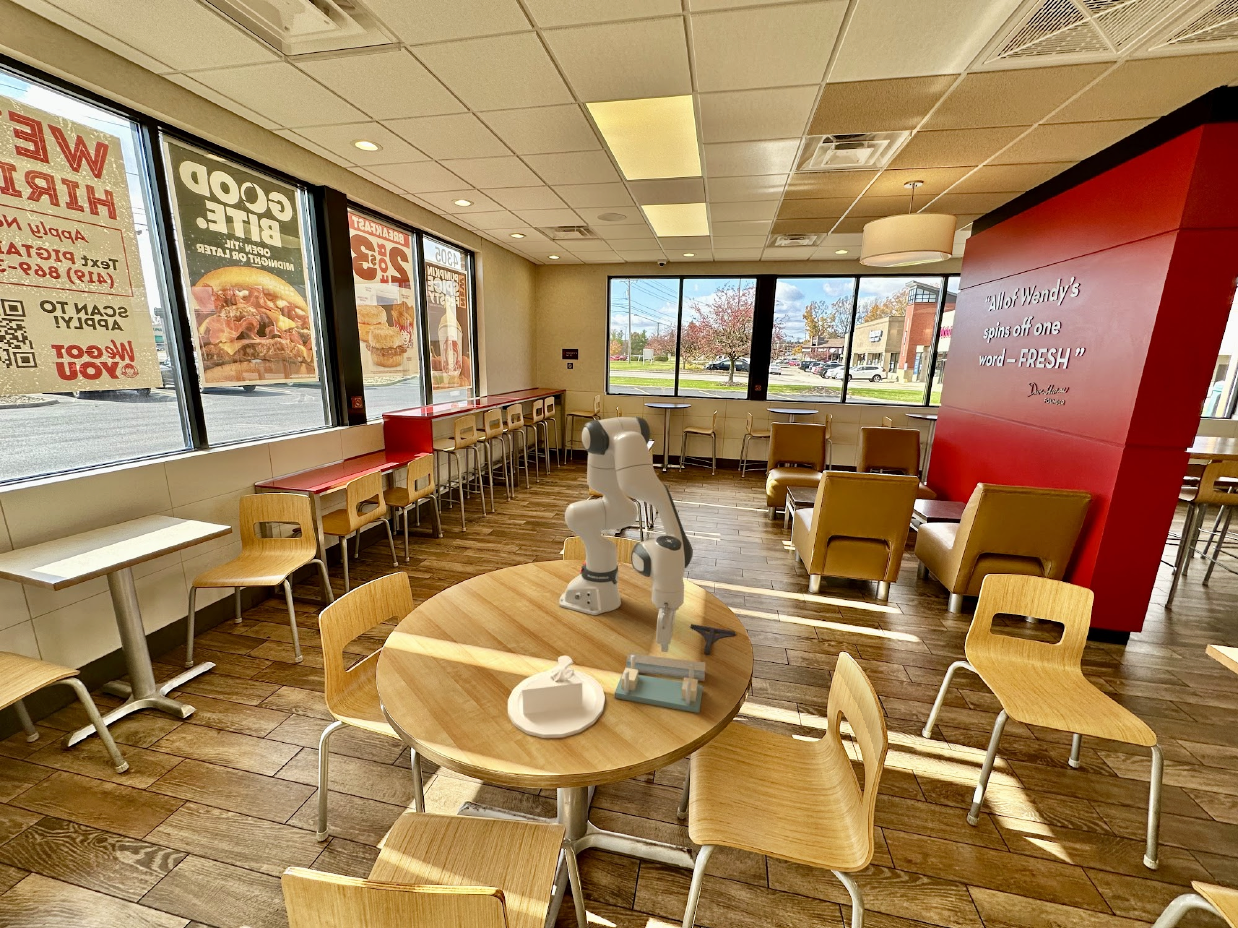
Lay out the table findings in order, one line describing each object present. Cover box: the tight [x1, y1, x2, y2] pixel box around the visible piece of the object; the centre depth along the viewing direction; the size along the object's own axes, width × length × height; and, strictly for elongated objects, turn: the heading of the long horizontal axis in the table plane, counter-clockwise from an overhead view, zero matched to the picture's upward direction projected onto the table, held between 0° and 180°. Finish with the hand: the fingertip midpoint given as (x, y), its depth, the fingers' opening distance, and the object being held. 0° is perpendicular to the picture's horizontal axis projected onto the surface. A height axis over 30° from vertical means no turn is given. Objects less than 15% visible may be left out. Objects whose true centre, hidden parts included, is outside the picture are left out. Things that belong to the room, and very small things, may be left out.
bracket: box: [689, 623, 736, 656], centre depth 156 cm, size 14×15×3 cm
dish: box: [507, 655, 606, 739], centre depth 127 cm, size 25×25×11 cm
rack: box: [614, 655, 704, 714], centre depth 130 cm, size 22×9×8 cm, turn 75°
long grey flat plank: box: [625, 653, 706, 682], centre depth 140 cm, size 22×4×4 cm, turn 79°
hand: (666, 641), depth 138 cm, fingers open, 8 cm apart
